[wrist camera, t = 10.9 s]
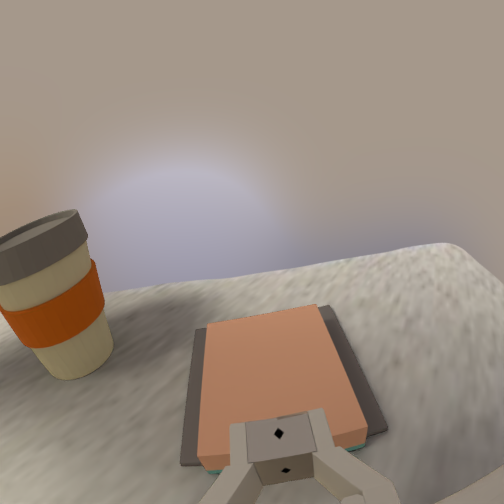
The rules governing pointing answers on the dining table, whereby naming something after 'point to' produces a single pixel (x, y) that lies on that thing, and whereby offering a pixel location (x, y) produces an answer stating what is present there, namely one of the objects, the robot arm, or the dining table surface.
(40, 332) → the reusable coffee cup
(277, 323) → the tile
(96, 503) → the dining table surface
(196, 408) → the mat
